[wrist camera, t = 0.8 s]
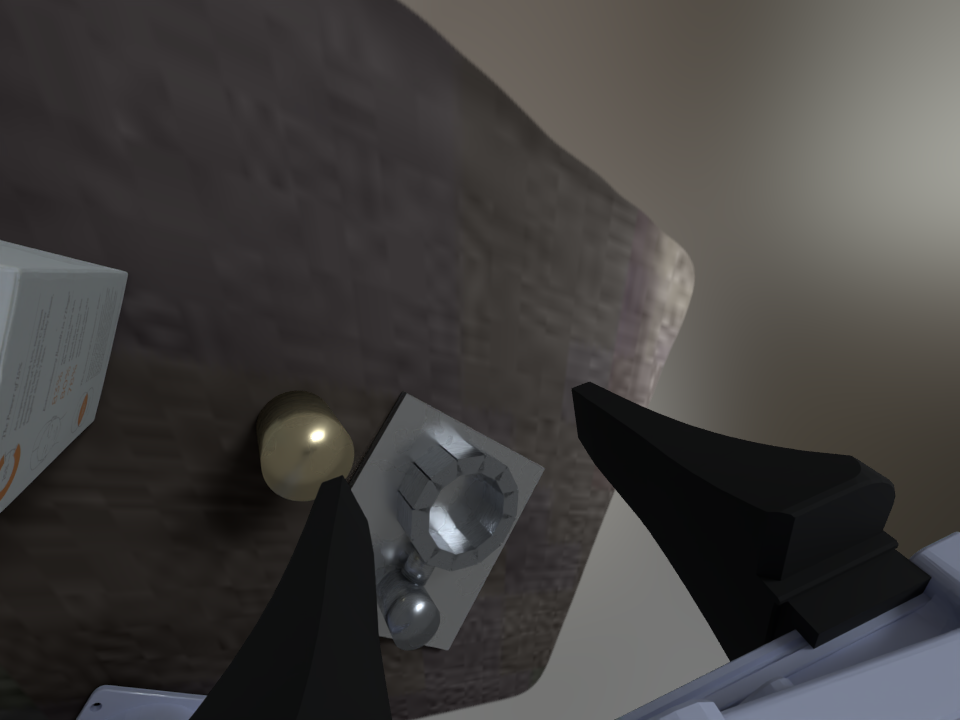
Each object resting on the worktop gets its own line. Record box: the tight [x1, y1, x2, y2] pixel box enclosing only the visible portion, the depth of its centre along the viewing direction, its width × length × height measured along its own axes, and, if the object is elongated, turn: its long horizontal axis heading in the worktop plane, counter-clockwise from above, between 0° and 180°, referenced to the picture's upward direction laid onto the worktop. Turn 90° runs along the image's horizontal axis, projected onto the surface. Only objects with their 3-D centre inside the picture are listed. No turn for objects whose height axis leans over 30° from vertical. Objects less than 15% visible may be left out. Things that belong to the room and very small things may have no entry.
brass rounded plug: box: [256, 391, 354, 501], centre depth 25 cm, size 4×4×6 cm
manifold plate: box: [348, 391, 545, 650], centre depth 31 cm, size 16×14×5 cm
